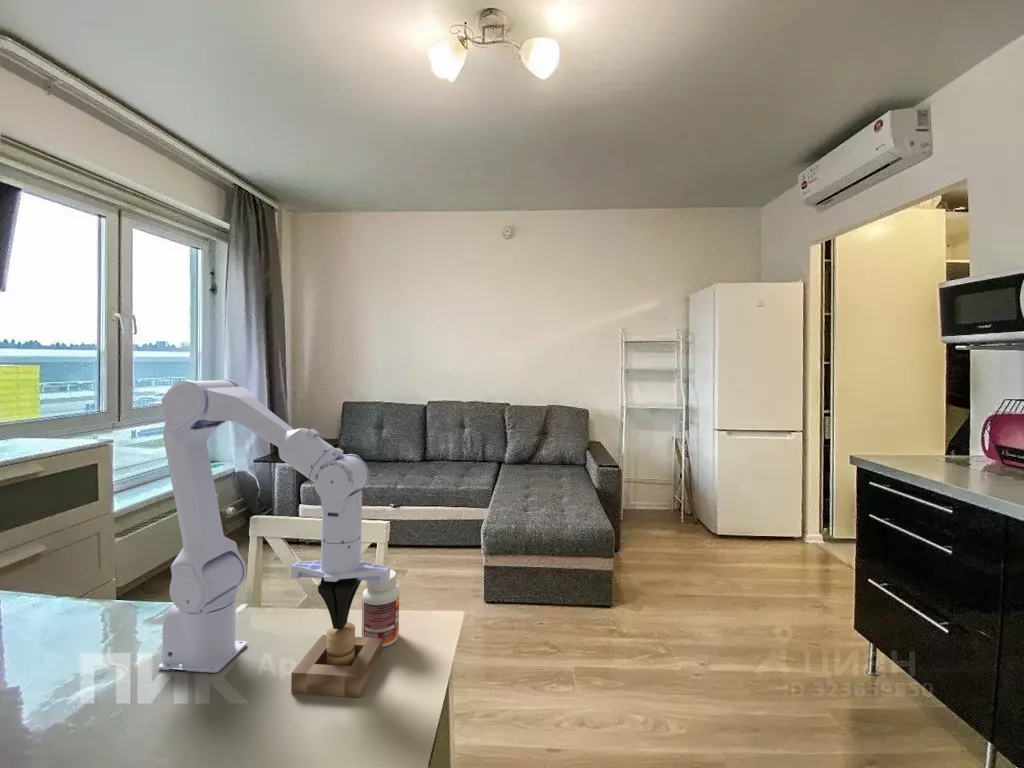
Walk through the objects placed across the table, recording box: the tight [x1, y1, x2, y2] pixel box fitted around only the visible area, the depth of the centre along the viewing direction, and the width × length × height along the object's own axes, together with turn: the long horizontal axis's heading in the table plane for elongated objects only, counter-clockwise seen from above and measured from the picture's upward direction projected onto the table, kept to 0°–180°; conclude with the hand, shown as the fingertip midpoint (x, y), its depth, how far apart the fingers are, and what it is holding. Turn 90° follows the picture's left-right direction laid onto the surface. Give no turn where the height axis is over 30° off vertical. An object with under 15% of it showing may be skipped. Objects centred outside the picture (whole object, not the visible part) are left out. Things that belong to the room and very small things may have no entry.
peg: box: [326, 621, 356, 666], centre depth 76 cm, size 4×4×7 cm
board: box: [290, 634, 383, 699], centre depth 76 cm, size 10×10×3 cm
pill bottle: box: [361, 568, 400, 648], centre depth 85 cm, size 6×6×11 cm
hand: (340, 625), depth 75 cm, fingers closed
